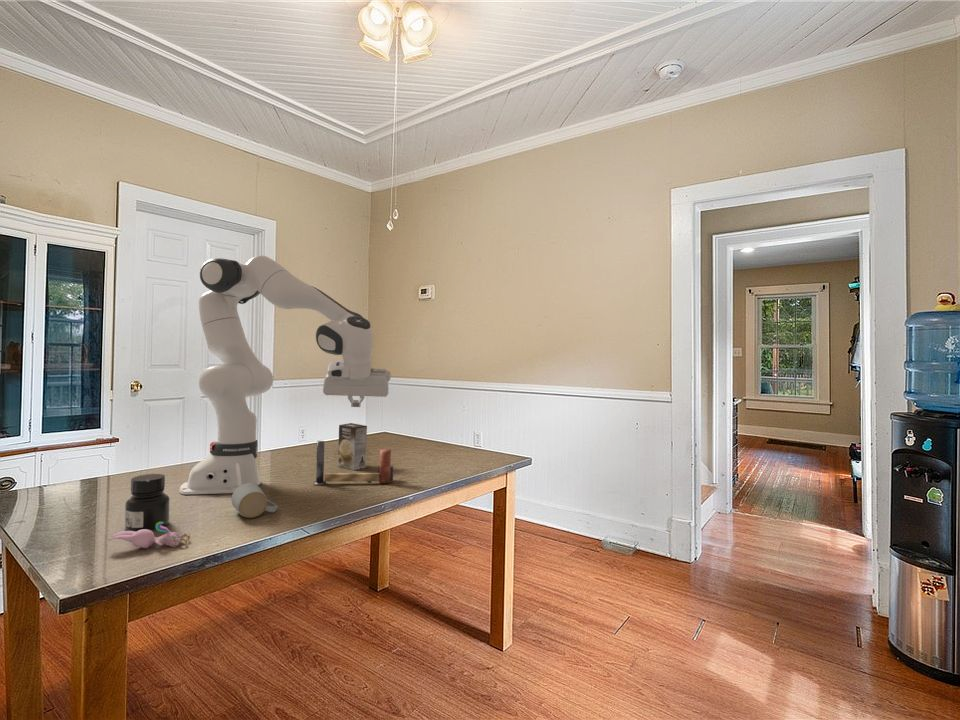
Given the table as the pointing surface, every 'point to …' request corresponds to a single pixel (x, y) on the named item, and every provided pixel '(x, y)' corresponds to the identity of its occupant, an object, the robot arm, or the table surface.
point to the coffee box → (352, 446)
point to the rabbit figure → (151, 537)
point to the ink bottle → (147, 503)
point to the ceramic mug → (251, 501)
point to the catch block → (390, 472)
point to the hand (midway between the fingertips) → (355, 406)
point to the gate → (369, 477)
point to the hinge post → (320, 464)
